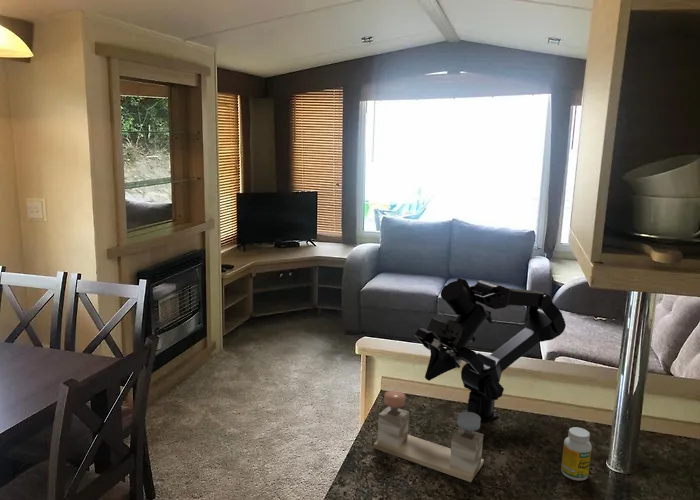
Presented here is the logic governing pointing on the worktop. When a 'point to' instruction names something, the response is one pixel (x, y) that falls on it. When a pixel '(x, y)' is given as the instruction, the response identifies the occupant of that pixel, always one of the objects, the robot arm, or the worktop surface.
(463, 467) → the stand
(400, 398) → the terracotta key
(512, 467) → the worktop surface
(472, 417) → the slate key
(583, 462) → the supplement bottle
